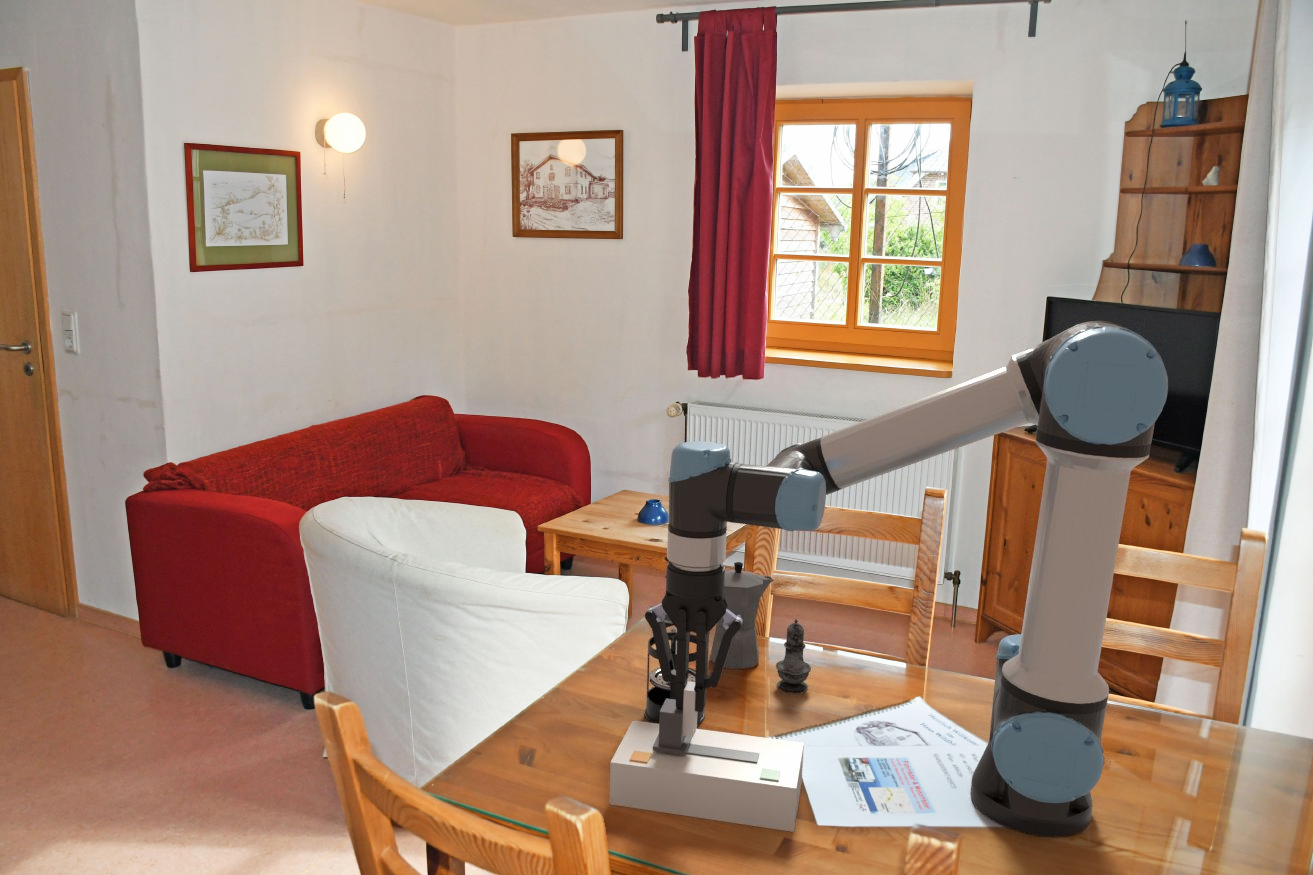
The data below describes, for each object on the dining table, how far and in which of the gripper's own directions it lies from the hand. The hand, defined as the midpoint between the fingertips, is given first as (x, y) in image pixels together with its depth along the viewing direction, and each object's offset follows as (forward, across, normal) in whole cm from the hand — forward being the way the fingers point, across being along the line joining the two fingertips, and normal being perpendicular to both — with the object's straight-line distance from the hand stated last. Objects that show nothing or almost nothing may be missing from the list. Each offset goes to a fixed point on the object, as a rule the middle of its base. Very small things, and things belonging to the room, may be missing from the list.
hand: (689, 731), depth 133 cm
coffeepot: (+9, +1, -44) cm, 45 cm away
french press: (+9, +6, -22) cm, 24 cm away
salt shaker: (+9, -11, -36) cm, 39 cm away
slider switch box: (+9, -3, 0) cm, 9 cm away
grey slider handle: (+2, +2, 0) cm, 3 cm away
